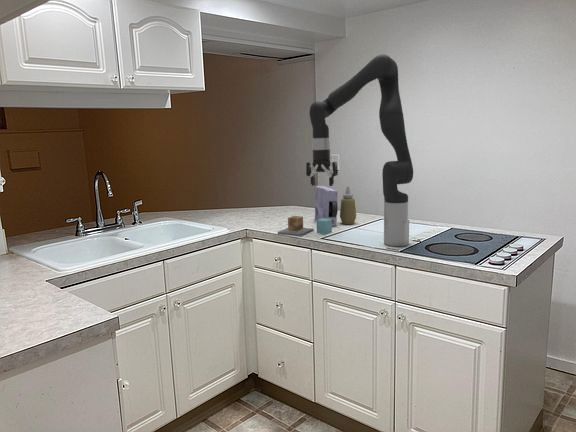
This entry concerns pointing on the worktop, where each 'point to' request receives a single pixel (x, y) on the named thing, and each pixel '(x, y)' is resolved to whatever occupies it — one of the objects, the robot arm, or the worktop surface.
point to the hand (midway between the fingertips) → (322, 185)
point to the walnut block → (295, 223)
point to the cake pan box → (326, 204)
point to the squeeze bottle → (348, 208)
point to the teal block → (324, 226)
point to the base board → (294, 233)
